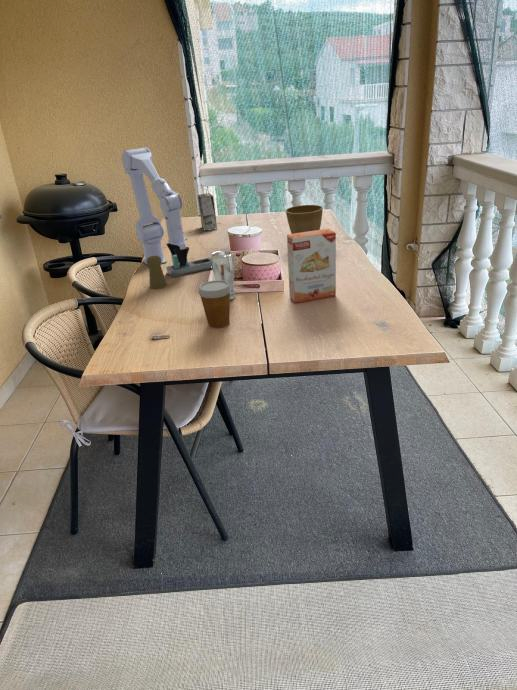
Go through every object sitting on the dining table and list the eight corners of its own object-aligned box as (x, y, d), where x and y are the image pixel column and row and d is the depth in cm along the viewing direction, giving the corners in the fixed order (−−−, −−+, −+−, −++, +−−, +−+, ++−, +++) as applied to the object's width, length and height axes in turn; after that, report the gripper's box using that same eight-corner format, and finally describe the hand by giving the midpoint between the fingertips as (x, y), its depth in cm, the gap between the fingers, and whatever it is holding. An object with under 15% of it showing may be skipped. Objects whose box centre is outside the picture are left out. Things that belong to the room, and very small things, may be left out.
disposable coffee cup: (218, 314, 159) (213, 277, 154) (241, 321, 154) (237, 282, 148) (196, 326, 153) (190, 288, 148) (219, 333, 147) (214, 293, 142)
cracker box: (295, 304, 162) (292, 238, 153) (289, 297, 167) (285, 233, 158) (337, 296, 165) (336, 231, 155) (329, 290, 170) (328, 227, 161)
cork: (163, 288, 184) (158, 259, 179) (147, 289, 185) (141, 259, 180) (169, 282, 189) (164, 253, 184) (153, 283, 191) (148, 254, 186)
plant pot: (323, 241, 221) (322, 203, 214) (323, 251, 208) (322, 211, 201) (288, 243, 223) (286, 205, 216) (286, 253, 210) (284, 213, 202)
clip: (174, 273, 199) (171, 255, 196) (187, 270, 201) (184, 252, 198) (176, 274, 197) (173, 257, 194) (189, 271, 199) (186, 254, 196)
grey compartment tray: (167, 273, 200) (166, 266, 199) (210, 263, 206) (210, 257, 205) (172, 277, 195) (170, 270, 194) (216, 267, 201) (215, 261, 200)
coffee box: (217, 229, 254) (213, 195, 247) (205, 231, 253) (200, 197, 245) (213, 225, 262) (209, 192, 255) (201, 227, 261) (196, 194, 253)
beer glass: (240, 294, 174) (235, 250, 167) (232, 302, 168) (227, 257, 161) (221, 293, 176) (215, 250, 169) (212, 300, 170) (207, 256, 163)
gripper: (191, 229, 187) (196, 266, 193) (178, 222, 198) (184, 256, 205) (172, 233, 184) (178, 270, 190) (161, 225, 196) (166, 260, 202)
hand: (180, 263), depth 197 cm, fingers open, 7 cm apart
